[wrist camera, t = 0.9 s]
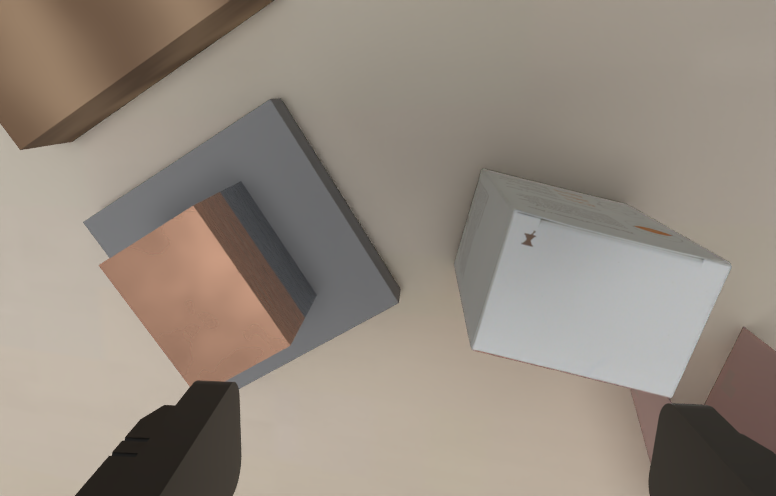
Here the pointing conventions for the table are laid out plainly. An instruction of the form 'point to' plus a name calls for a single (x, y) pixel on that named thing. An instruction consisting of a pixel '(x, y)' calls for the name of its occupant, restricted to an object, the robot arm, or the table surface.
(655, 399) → the greeting card
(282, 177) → the rubber mat
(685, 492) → the robot arm
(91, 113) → the walnut stand
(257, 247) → the copper rectangular block
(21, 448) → the table surface
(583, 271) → the small box
